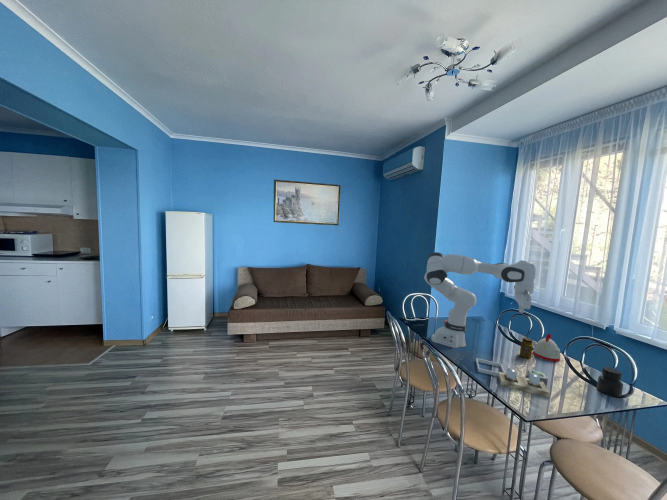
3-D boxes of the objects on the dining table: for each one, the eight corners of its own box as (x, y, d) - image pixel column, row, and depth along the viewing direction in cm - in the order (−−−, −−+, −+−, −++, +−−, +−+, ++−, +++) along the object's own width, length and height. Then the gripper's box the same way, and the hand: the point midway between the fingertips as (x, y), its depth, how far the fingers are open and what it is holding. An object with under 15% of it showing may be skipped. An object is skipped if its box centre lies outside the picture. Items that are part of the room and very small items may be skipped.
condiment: (533, 358, 170) (536, 340, 169) (528, 361, 166) (530, 342, 165) (520, 353, 176) (523, 335, 175) (515, 356, 172) (517, 338, 171)
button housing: (530, 382, 142) (531, 375, 142) (527, 375, 149) (527, 369, 148) (546, 386, 139) (547, 378, 139) (542, 379, 146) (543, 372, 145)
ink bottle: (627, 397, 133) (631, 374, 132) (613, 399, 131) (617, 376, 130) (603, 386, 143) (607, 364, 142) (591, 387, 141) (594, 365, 140)
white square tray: (477, 372, 149) (478, 368, 149) (475, 361, 161) (476, 358, 161) (505, 379, 144) (506, 374, 144) (501, 367, 156) (501, 363, 156)
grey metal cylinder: (530, 390, 134) (531, 376, 133) (526, 385, 138) (527, 372, 138) (540, 391, 133) (541, 378, 132) (536, 386, 137) (537, 373, 136)
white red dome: (529, 354, 176) (532, 332, 175) (536, 349, 184) (539, 328, 183) (556, 363, 165) (559, 340, 164) (562, 357, 174) (565, 335, 172)
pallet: (500, 386, 137) (501, 381, 137) (497, 376, 146) (498, 371, 146) (548, 398, 129) (549, 392, 129) (542, 387, 138) (543, 381, 138)
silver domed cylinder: (506, 384, 138) (508, 371, 138) (504, 379, 142) (506, 367, 142) (516, 386, 137) (518, 373, 136) (514, 382, 141) (516, 369, 140)
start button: (533, 379, 143) (534, 373, 143) (531, 375, 146) (532, 370, 146) (542, 381, 141) (543, 375, 141) (540, 377, 145) (540, 372, 145)
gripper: (535, 293, 143) (532, 318, 144) (525, 286, 162) (523, 308, 163) (521, 291, 145) (518, 316, 147) (513, 285, 164) (510, 306, 165)
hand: (521, 312), depth 155 cm, fingers closed
